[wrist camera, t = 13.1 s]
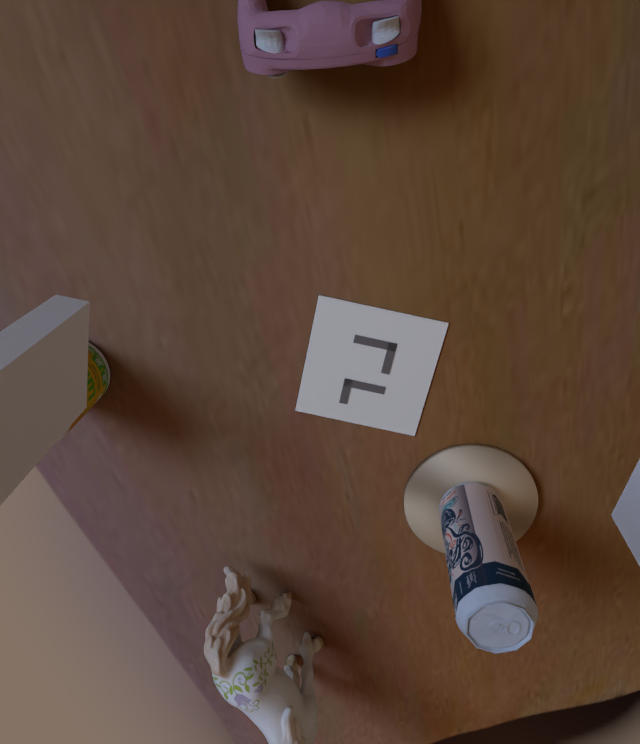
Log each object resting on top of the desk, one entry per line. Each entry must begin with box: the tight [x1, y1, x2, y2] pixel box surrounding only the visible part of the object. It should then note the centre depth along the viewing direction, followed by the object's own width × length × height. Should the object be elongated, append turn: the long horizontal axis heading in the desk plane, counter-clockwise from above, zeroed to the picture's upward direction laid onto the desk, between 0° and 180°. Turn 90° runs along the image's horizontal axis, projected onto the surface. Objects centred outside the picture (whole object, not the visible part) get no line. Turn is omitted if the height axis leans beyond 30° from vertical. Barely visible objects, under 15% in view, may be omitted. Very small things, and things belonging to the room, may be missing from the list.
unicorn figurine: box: [204, 566, 324, 744], centre depth 48 cm, size 7×20×13 cm, turn 48°
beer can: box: [439, 482, 538, 654], centre depth 41 cm, size 5×5×12 cm
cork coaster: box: [404, 444, 538, 554], centre depth 46 cm, size 10×10×1 cm
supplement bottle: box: [56, 342, 110, 443], centre depth 41 cm, size 5×5×10 cm
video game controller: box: [238, 0, 422, 79], centre depth 32 cm, size 10×5×7 cm, turn 94°
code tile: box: [295, 295, 449, 436], centre depth 43 cm, size 9×9×1 cm
